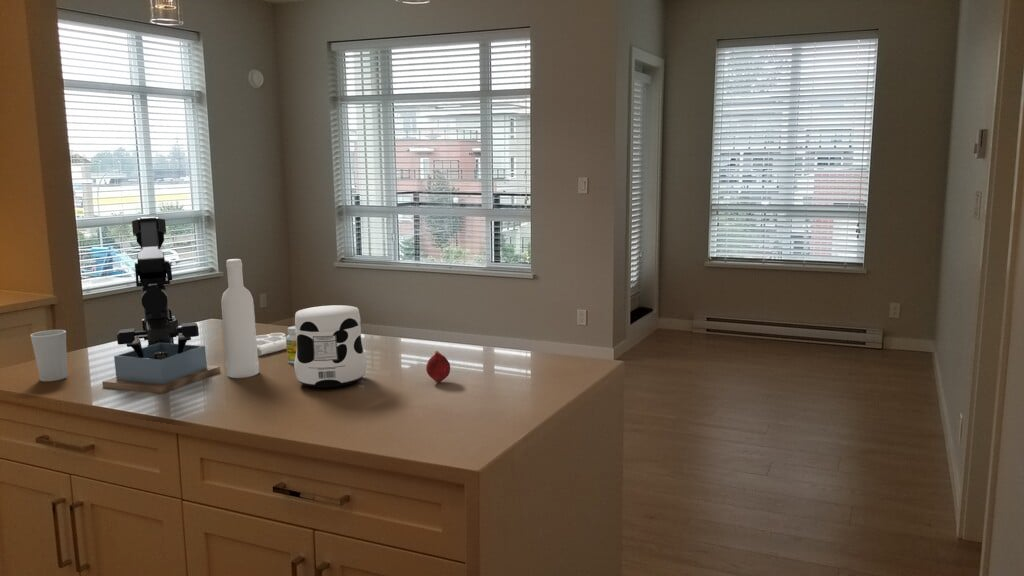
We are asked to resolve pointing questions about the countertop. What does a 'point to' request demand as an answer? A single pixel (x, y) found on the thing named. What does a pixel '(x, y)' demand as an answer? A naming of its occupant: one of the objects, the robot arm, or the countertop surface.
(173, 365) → the blue grey open box
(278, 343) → the white muffin tray
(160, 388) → the serving board
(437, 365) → the onion
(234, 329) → the bottle
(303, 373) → the milk container
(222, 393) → the countertop surface
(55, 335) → the cup
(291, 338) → the supplement bottle
